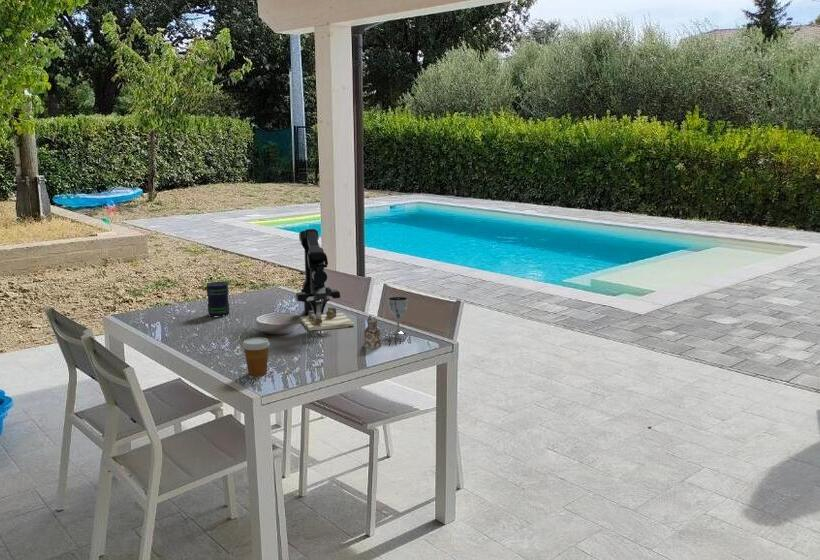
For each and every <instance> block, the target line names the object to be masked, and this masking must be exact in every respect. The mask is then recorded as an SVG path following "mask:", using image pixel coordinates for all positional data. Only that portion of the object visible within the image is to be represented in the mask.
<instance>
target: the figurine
mask: <svg viewBox="0 0 820 560" xmlns="http://www.w3.org/2000/svg"><path fill="white" fill-rule="evenodd" d="M362 346H363V347H364V348H366V347H367V348H366V349H378V348H381V347H382V339H381V330H380V328H378V319H376V317H374V316H372V315H368V319H367V327H366V328H365V329H364V332H363V342H362Z"/></svg>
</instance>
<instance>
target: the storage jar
mask: <svg viewBox="0 0 820 560" xmlns="http://www.w3.org/2000/svg"><path fill="white" fill-rule="evenodd" d="M228 284H229V283H228V282H227V281H213V282H208V283H206V296H207V302H208V303H207V313H208V314H209V315H210V316H223V315H228V314H229V315H230V303H229V285H228ZM209 315H208V316H209ZM229 315H228V316H229Z"/></svg>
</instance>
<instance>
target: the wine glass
mask: <svg viewBox="0 0 820 560" xmlns="http://www.w3.org/2000/svg"><path fill="white" fill-rule="evenodd" d="M388 307H389V311H390V314H392V315H393V316H394V318H395V319H396V325H397V327H396V329H397V330H392V331H393V332H392V331H391V332H392V333H394V334H403V335H405V334H404V333H406V332H407V331H406V330H400V321H401V318H402V317H403V315H405V313H407V308H408V297H406V296H402V295H399V296H398V295H397V296H396V295H395V296H391V297H388ZM405 331H406V332H405ZM406 334H407V333H406Z"/></svg>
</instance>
